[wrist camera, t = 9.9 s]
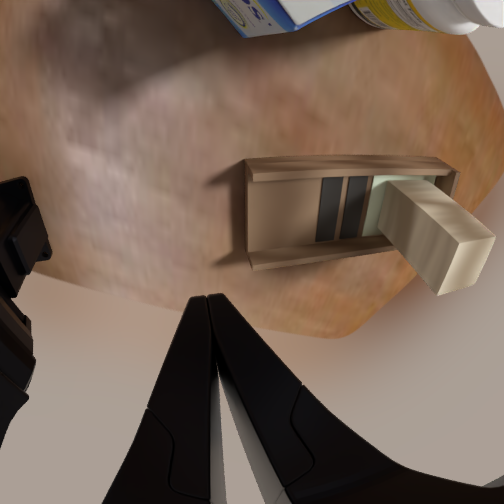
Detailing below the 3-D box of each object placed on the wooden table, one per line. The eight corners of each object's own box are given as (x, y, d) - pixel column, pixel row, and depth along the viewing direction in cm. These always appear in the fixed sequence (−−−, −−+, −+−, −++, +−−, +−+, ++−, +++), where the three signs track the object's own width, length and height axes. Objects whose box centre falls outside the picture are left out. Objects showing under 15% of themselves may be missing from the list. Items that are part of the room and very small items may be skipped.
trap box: (245, 249, 24) (254, 275, 21) (244, 158, 19) (255, 177, 17) (418, 228, 26) (436, 247, 24) (436, 157, 22) (460, 172, 20)
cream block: (377, 227, 24) (436, 296, 17) (387, 180, 21) (459, 243, 15) (415, 223, 24) (474, 284, 18) (426, 179, 22) (496, 236, 16)
